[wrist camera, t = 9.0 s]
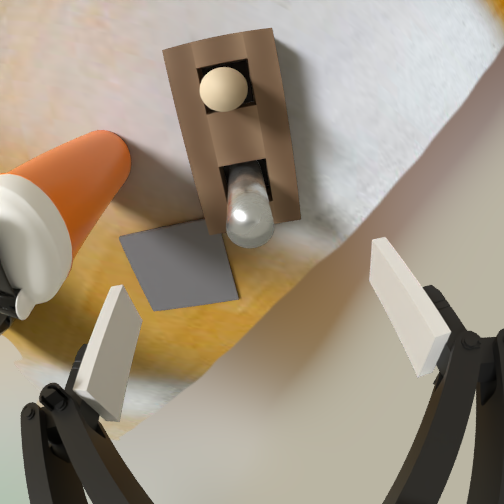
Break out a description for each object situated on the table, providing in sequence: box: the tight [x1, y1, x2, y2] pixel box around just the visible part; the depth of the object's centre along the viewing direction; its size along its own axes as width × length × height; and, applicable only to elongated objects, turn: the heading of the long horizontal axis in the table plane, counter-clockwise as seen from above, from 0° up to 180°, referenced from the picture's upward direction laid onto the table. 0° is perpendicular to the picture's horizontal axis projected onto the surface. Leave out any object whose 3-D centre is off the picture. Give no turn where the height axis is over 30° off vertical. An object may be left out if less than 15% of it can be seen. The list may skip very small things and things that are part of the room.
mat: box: [119, 218, 239, 311], centre depth 36 cm, size 12×12×1 cm
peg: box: [226, 160, 274, 248], centre depth 25 cm, size 3×3×12 cm
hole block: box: [162, 28, 301, 235], centre depth 26 cm, size 9×18×4 cm, turn 10°
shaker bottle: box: [0, 130, 131, 320], centre depth 20 cm, size 9×9×20 cm
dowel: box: [200, 67, 248, 112], centre depth 21 cm, size 3×3×10 cm
